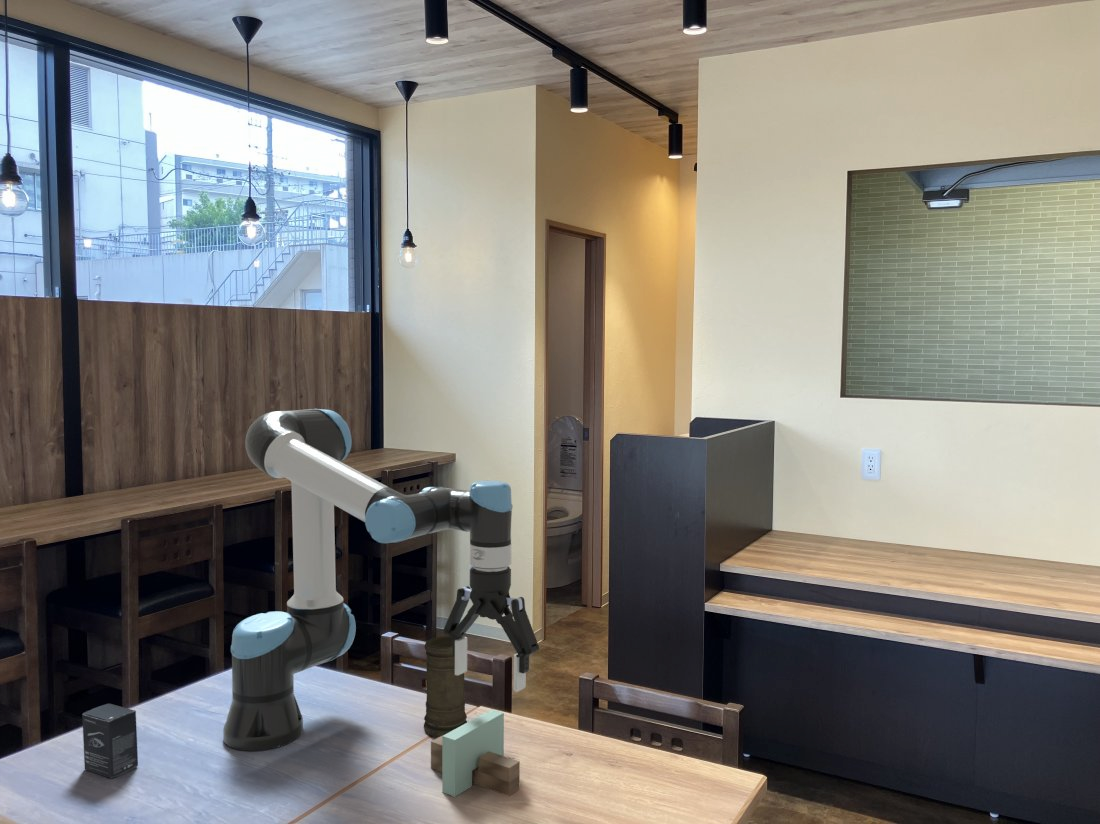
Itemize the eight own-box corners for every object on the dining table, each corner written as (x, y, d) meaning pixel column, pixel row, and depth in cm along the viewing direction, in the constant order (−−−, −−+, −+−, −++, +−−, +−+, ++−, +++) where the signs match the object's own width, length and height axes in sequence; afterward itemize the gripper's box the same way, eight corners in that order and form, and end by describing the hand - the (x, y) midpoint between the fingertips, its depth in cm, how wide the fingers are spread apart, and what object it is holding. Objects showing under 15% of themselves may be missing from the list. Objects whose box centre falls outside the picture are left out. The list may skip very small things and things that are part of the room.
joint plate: (454, 796, 145) (454, 740, 144) (442, 792, 146) (442, 736, 146) (503, 765, 157) (503, 712, 156) (491, 761, 158) (491, 709, 158)
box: (138, 767, 155) (137, 709, 154) (110, 780, 150) (109, 720, 149) (111, 757, 159) (110, 701, 158) (82, 769, 154) (81, 712, 153)
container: (460, 740, 167) (460, 651, 166) (417, 735, 169) (417, 647, 168) (473, 721, 176) (473, 636, 175) (432, 717, 178) (432, 633, 177)
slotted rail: (430, 768, 155) (430, 741, 155) (441, 761, 158) (441, 735, 157) (509, 796, 145) (509, 768, 145) (519, 789, 148) (519, 761, 147)
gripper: (425, 560, 157) (424, 672, 158) (534, 581, 143) (533, 703, 144) (451, 553, 163) (450, 661, 164) (559, 572, 149) (557, 689, 151)
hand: (489, 681), depth 154 cm, fingers open, 13 cm apart
